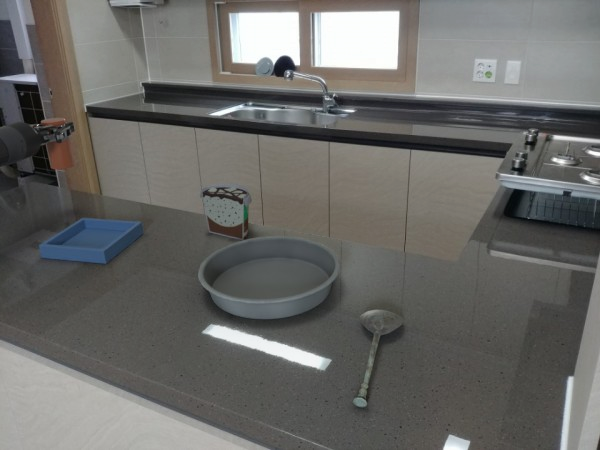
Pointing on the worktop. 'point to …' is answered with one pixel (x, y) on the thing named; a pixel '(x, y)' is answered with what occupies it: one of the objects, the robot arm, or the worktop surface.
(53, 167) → the orange cylinder
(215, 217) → the food container
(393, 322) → the soupspoon
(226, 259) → the cake pan
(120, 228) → the tray
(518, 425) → the worktop surface
